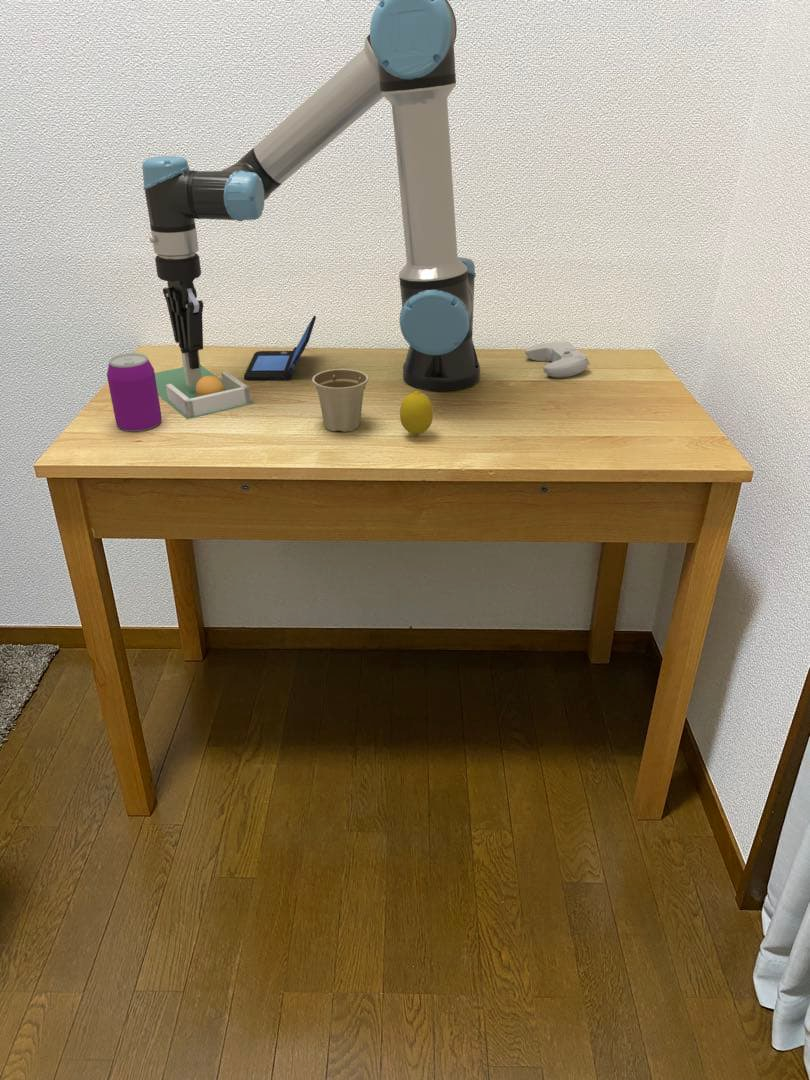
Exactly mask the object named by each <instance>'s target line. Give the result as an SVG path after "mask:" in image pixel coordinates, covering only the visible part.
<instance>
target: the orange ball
mask: <svg viewBox="0 0 810 1080" xmlns="http://www.w3.org/2000/svg"><path fill="white" fill-rule="evenodd" d="M217 377H218V376H217ZM217 377H214V376H204V377H202V378H201V379H200V380H199V381H198V382H197V384H196V393H197V396H198V397H200V396H204V395H209V394H213V393H218V392H222V391H224V387H223V384H222V382H221V381H220V380H219V379H218V378H219V377H218V378H217Z"/></svg>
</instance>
